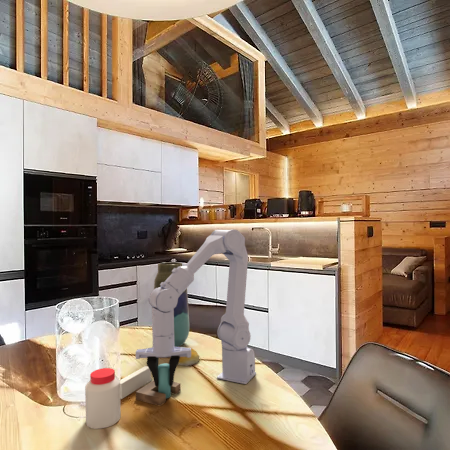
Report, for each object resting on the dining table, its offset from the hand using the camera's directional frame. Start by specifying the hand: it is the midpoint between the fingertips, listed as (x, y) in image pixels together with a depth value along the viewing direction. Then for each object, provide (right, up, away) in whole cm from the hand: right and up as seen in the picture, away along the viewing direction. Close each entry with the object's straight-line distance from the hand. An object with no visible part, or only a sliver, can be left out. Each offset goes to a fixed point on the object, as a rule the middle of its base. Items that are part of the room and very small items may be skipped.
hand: (164, 384), depth 92 cm
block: (-2, -3, +1) cm, 4 cm away
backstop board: (-9, -3, +5) cm, 11 cm away
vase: (-4, -4, +41) cm, 41 cm away
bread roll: (+3, -4, +25) cm, 25 cm away
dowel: (0, -3, 0) cm, 3 cm away
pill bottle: (-13, -4, -10) cm, 17 cm away
